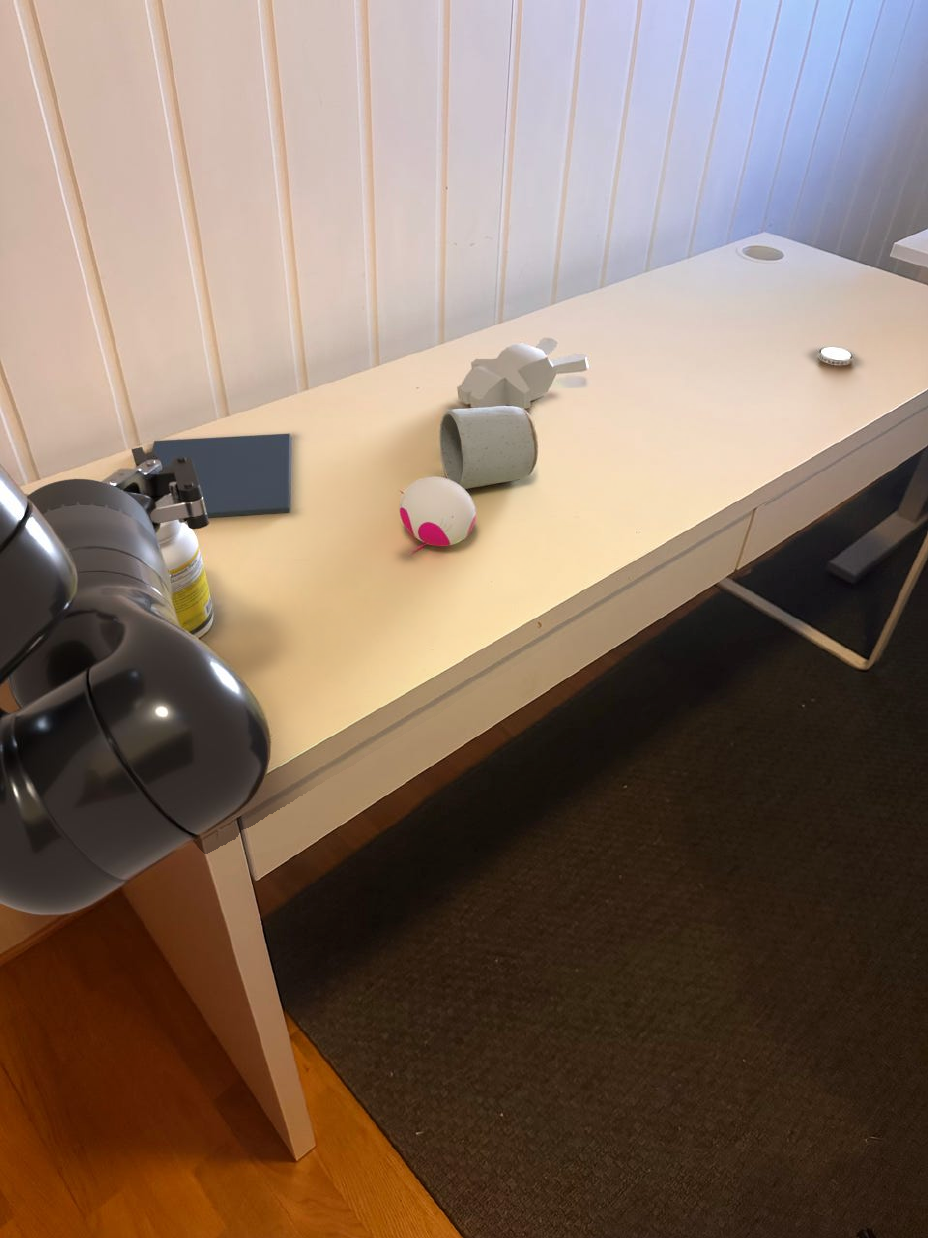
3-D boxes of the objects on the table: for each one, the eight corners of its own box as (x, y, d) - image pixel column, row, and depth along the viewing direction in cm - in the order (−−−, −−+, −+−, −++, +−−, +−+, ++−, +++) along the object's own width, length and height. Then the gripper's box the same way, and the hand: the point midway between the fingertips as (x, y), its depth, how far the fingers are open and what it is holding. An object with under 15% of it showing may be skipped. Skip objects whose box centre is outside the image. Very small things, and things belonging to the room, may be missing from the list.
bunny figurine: (440, 364, 100) (541, 317, 106) (444, 404, 103) (542, 356, 109) (494, 396, 94) (597, 345, 100) (496, 437, 98) (596, 385, 104)
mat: (137, 522, 83) (135, 517, 83) (155, 445, 93) (154, 440, 93) (289, 512, 85) (288, 507, 84) (290, 438, 95) (289, 433, 95)
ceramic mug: (540, 490, 88) (545, 419, 83) (462, 505, 86) (463, 433, 81) (499, 440, 96) (502, 372, 91) (427, 452, 93) (426, 384, 88)
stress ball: (397, 558, 85) (362, 527, 79) (443, 489, 86) (412, 453, 80) (455, 590, 81) (423, 560, 75) (503, 518, 82) (475, 482, 76)
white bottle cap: (855, 365, 110) (857, 360, 110) (822, 364, 110) (824, 359, 110) (845, 351, 113) (847, 346, 113) (814, 350, 113) (815, 345, 113)
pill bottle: (123, 620, 73) (87, 507, 65) (192, 590, 76) (166, 479, 68) (157, 662, 69) (123, 547, 62) (229, 628, 72) (204, 515, 65)
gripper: (214, 475, 44) (170, 396, 57) (-104, 545, 40) (-74, 443, 53) (245, 605, 48) (197, 504, 61) (-42, 683, 44) (-28, 556, 57)
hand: (71, 476), depth 57 cm, fingers open, 8 cm apart
